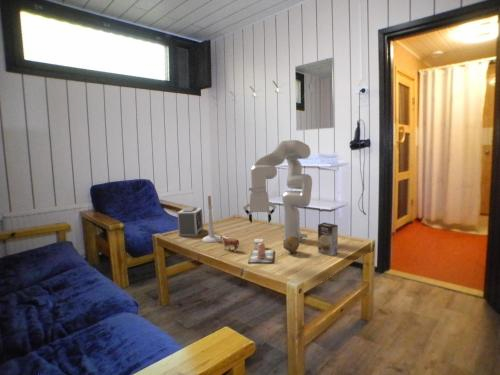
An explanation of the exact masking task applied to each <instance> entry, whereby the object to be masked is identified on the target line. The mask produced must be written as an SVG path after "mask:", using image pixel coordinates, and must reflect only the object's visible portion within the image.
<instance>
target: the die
mask: <svg viewBox="0 0 500 375" xmlns="http://www.w3.org/2000/svg"><path fill="white" fill-rule="evenodd" d="M259 243H263V244H264V239H263V238H255V239H254V240H253V249H254V250H258V244H259Z"/></svg>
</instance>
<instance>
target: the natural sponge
mask: <svg viewBox="0 0 500 375" xmlns="http://www.w3.org/2000/svg"><path fill="white" fill-rule="evenodd" d="M282 244H283V249H285V250H286V251H287V252H289V253H291V254H293V253H295V252H297V250H298V249H299V247H300V242H299V239H298V238H297V237H296V236H293V235H290V236H288V237H286V238H285V239H284V241H283V242H282Z"/></svg>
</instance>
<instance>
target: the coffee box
mask: <svg viewBox="0 0 500 375" xmlns="http://www.w3.org/2000/svg"><path fill="white" fill-rule="evenodd" d="M338 227H339V225H338V224H333V223H329V222H322V223H319V224H318V225H317V253H318V254H319V253H320V254H322V253H323V255H326V254H327V256H330V255H331V256H330V257H332V255H333V256H335V255H337V254H338V252H339V251H338V247H339V245H338V241H339V240H338V239H339V238H338V237H339V235H338V234H339V233H338V232H339V231H338V229H339V228H338ZM336 253H337V254H336ZM334 254H335V255H334Z"/></svg>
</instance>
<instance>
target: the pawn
mask: <svg viewBox="0 0 500 375" xmlns="http://www.w3.org/2000/svg"><path fill="white" fill-rule="evenodd" d="M265 250H266V245H265V243H264V242H263V243H259V244H258V255H257V258H259V259H264V258H266V255H265Z"/></svg>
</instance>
